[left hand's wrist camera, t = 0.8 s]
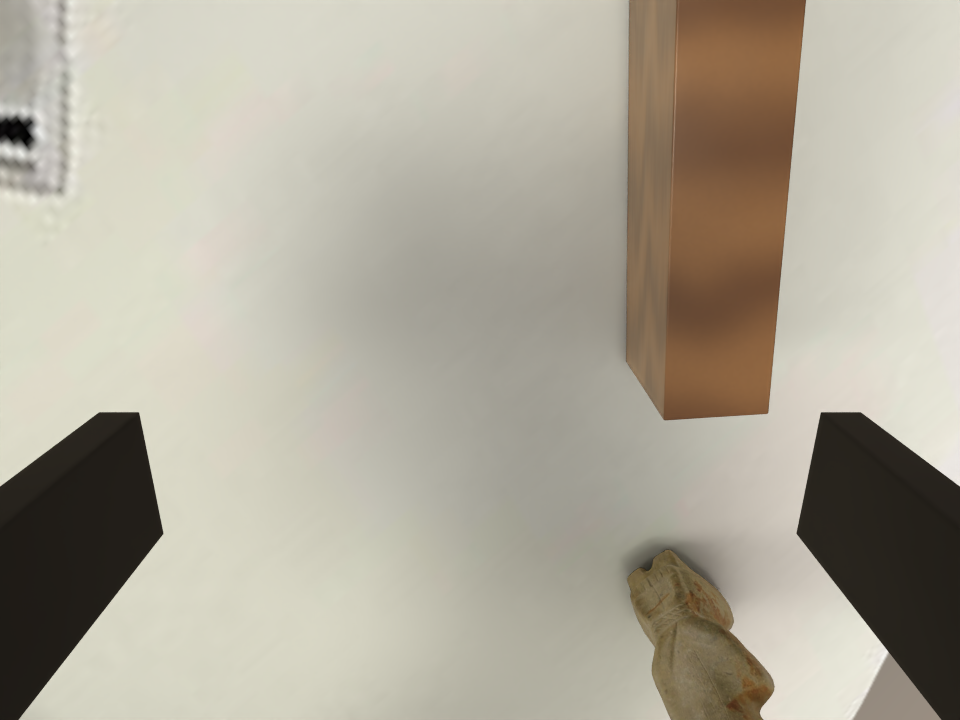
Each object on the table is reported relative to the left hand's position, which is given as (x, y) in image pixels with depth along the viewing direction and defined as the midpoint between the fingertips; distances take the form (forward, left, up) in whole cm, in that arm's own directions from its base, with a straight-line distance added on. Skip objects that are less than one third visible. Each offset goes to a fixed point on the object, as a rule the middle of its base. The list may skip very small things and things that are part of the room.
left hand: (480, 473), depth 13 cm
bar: (+7, -9, -24) cm, 27 cm away
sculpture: (-19, -17, -24) cm, 35 cm away
